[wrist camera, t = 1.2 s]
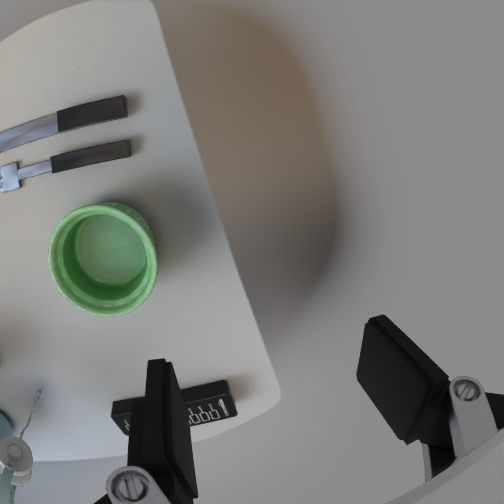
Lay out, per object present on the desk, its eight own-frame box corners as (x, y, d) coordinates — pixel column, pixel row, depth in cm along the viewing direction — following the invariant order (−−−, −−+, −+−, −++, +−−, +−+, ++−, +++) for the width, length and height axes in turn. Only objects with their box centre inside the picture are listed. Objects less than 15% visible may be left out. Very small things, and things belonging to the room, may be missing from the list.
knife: (-9, 136, 18) (-14, 136, 17) (126, 96, 21) (124, 94, 20) (-7, 155, 19) (-13, 155, 18) (127, 117, 21) (125, 116, 20)
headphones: (29, 364, 27) (-23, 504, 8) (58, 380, 28) (19, 526, 10) (23, 401, 28) (-13, 521, 10) (48, 414, 29) (21, 538, 11)
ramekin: (157, 190, 24) (151, 200, 20) (166, 289, 27) (164, 314, 23) (59, 200, 22) (38, 212, 18) (76, 294, 25) (62, 318, 21)
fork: (-12, 172, 19) (-18, 173, 18) (129, 133, 22) (126, 133, 21) (-9, 196, 20) (-14, 198, 19) (132, 162, 23) (130, 163, 22)
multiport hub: (111, 401, 30) (109, 415, 28) (226, 379, 32) (229, 393, 30) (127, 423, 32) (126, 436, 30) (235, 402, 34) (238, 416, 32)
